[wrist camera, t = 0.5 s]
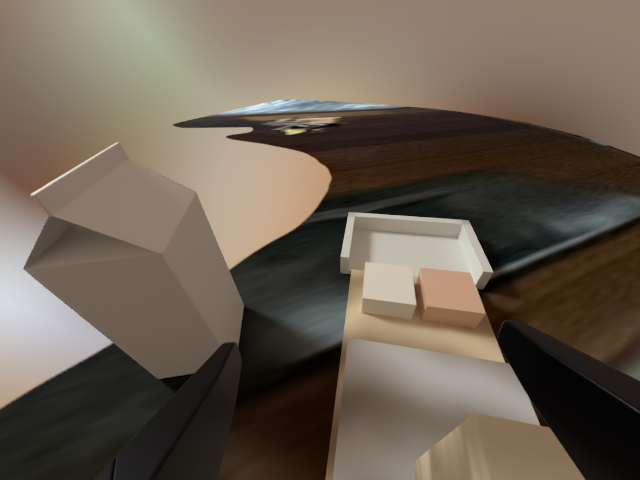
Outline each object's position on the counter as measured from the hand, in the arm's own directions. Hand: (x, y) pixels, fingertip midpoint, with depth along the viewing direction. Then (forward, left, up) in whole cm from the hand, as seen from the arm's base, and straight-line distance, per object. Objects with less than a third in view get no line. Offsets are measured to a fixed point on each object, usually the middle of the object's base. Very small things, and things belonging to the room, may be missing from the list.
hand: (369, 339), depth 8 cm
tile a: (+11, -7, -14) cm, 19 cm away
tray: (+19, -13, -16) cm, 27 cm away
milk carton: (+11, +13, -16) cm, 23 cm away
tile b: (+9, -12, -14) cm, 21 cm away
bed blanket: (-1, -6, -14) cm, 15 cm away
